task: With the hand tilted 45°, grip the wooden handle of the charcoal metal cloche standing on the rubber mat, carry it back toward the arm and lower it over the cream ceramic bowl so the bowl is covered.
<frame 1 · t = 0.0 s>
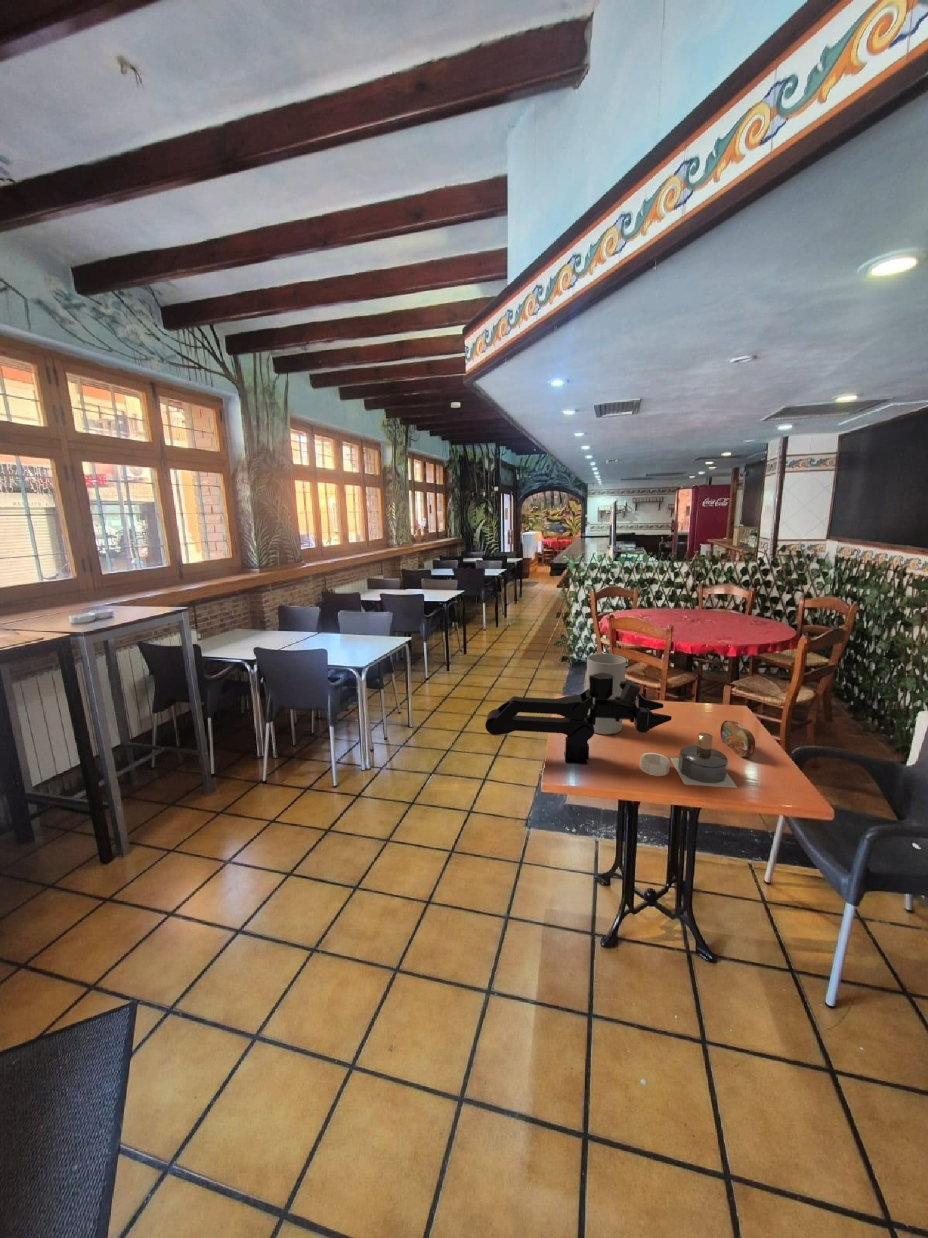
hand: (667, 711, 142), 17 cm above the table, tool horizontal, fingers open, 9 cm apart
bowl: (654, 770, 142), on the table
cloche: (701, 772, 140), resting on mat
tin: (736, 751, 153), on the table
mat: (701, 773, 140), on the table
cylinder vase: (602, 728, 171), on the table
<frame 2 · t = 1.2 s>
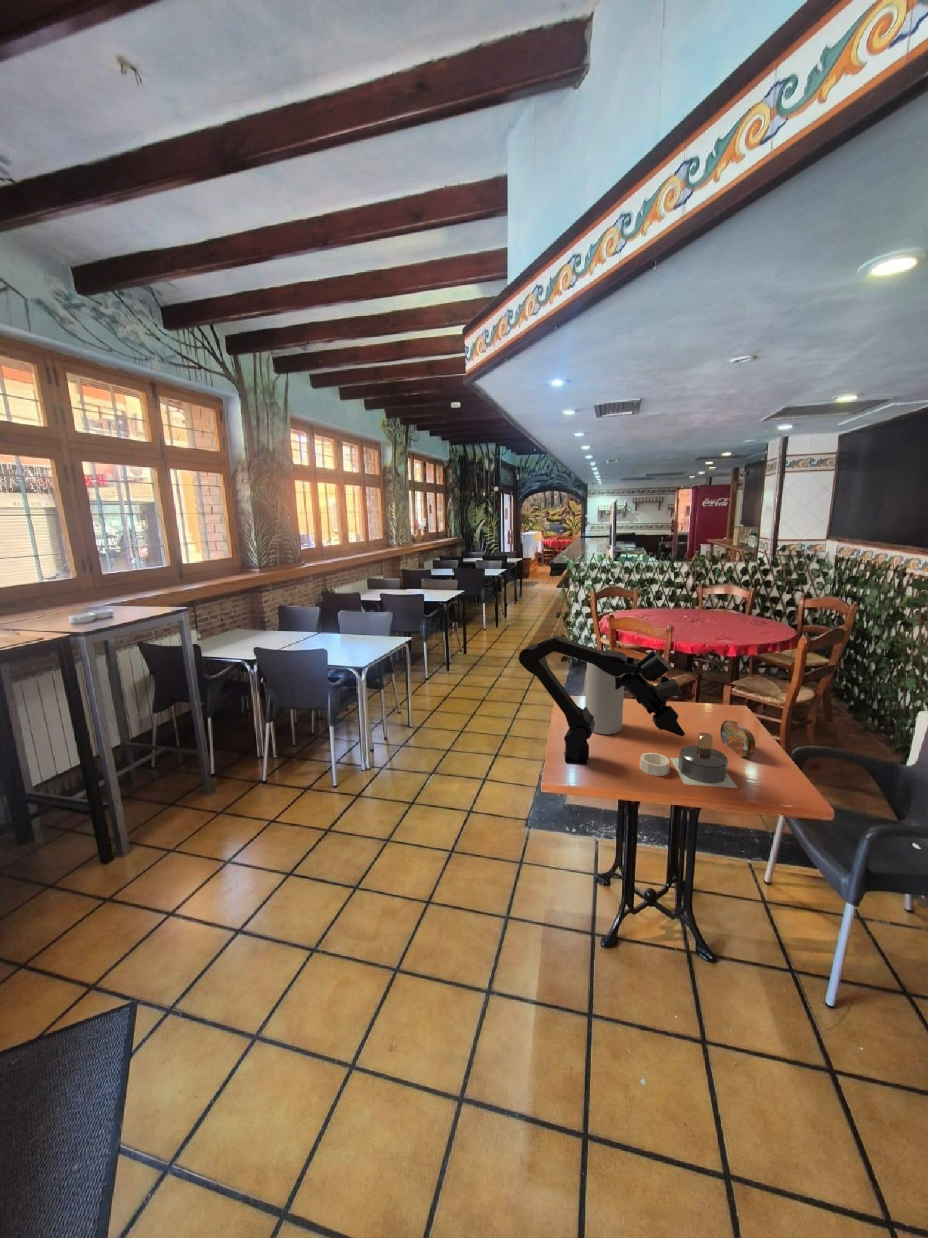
hand: (679, 728, 138), 13 cm above the table, tool tilted 45°, fingers open, 9 cm apart
nothing on the table moved.
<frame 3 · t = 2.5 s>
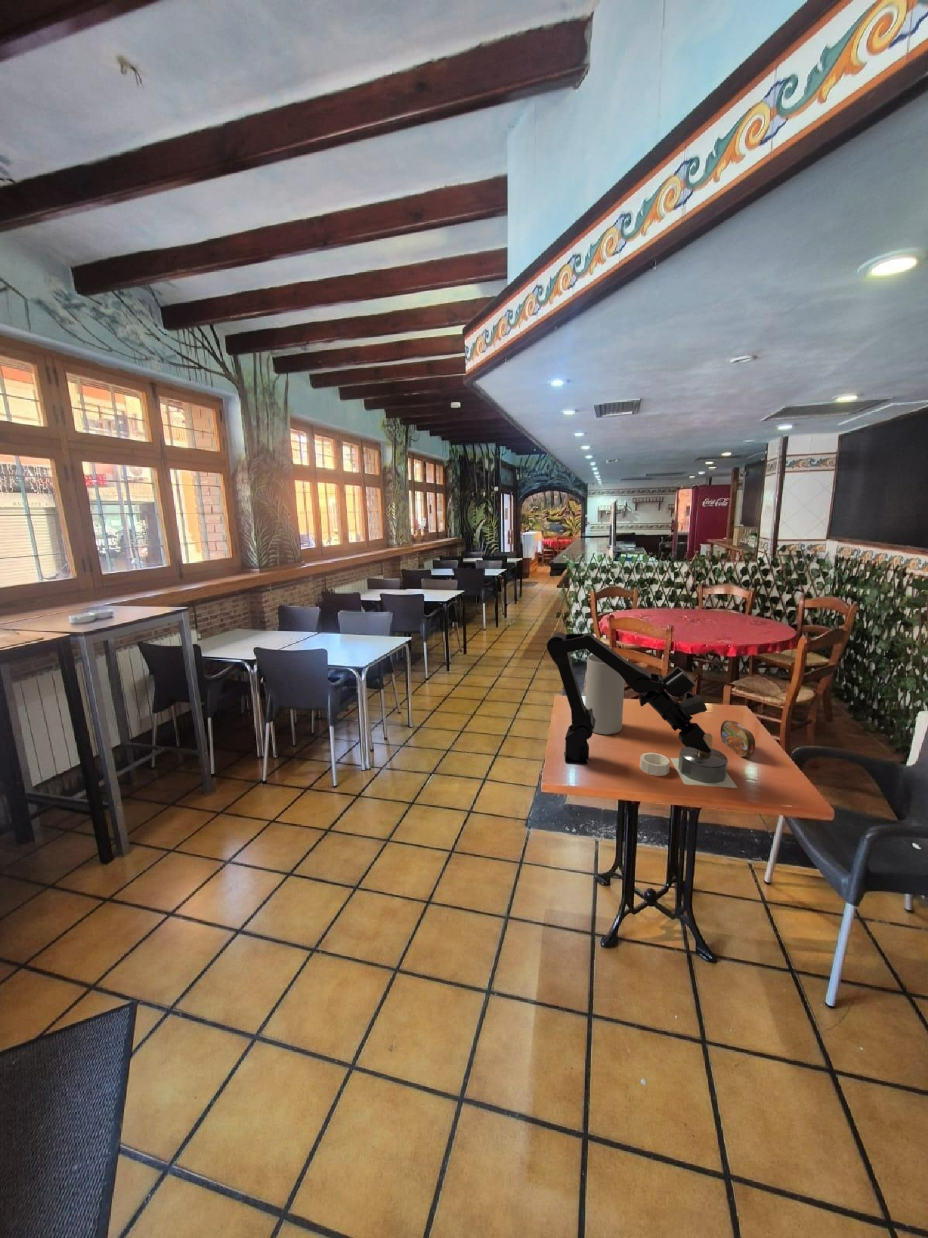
hand: (704, 744, 138), 9 cm above the table, tool tilted 45°, fingers open, 9 cm apart
nothing on the table moved.
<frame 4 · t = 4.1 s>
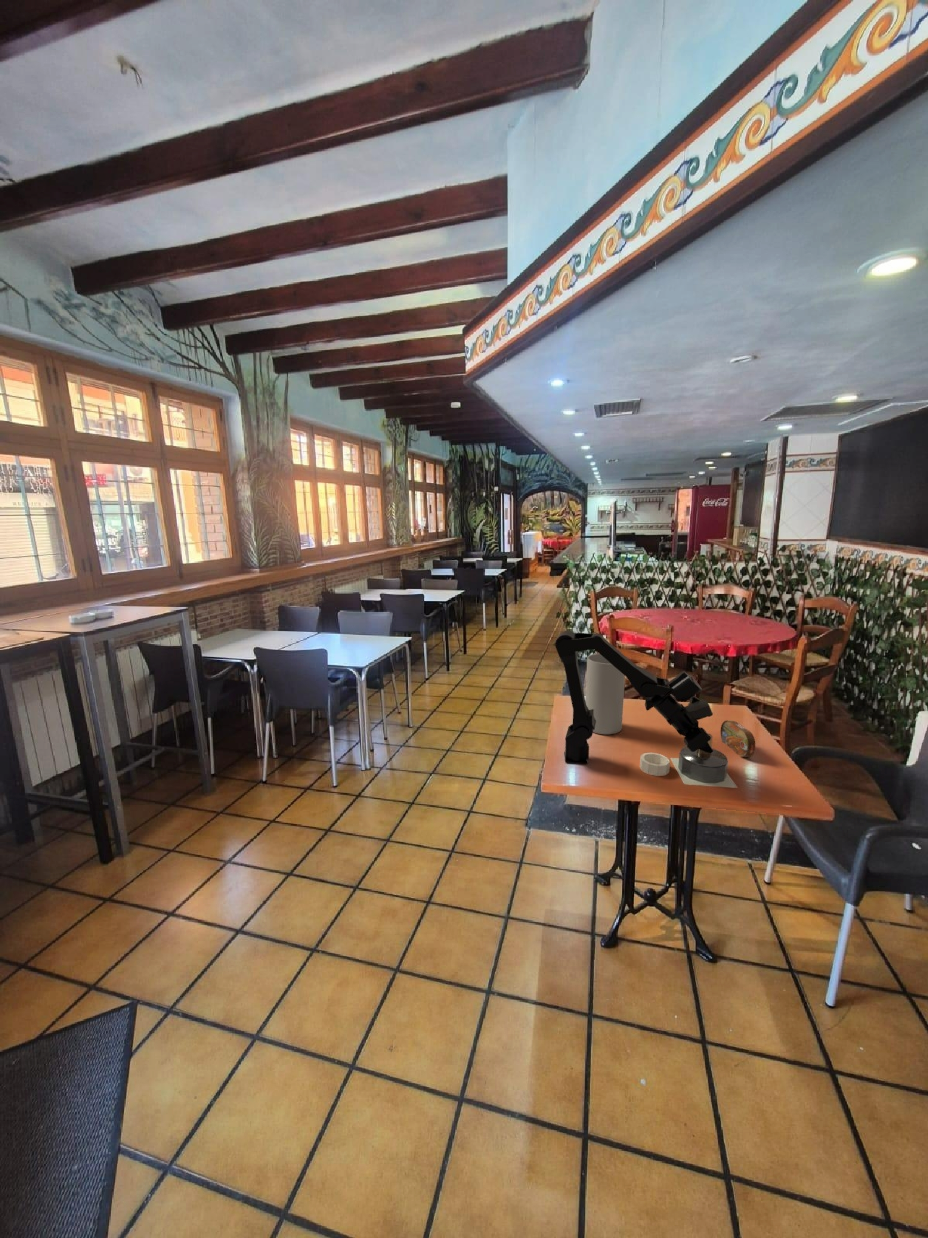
hand: (709, 749, 138), 8 cm above the table, tool tilted 45°, fingers closed on cloche, 4 cm apart
cloche: (701, 772, 140), resting on mat, touching gripper
everything else where it was.
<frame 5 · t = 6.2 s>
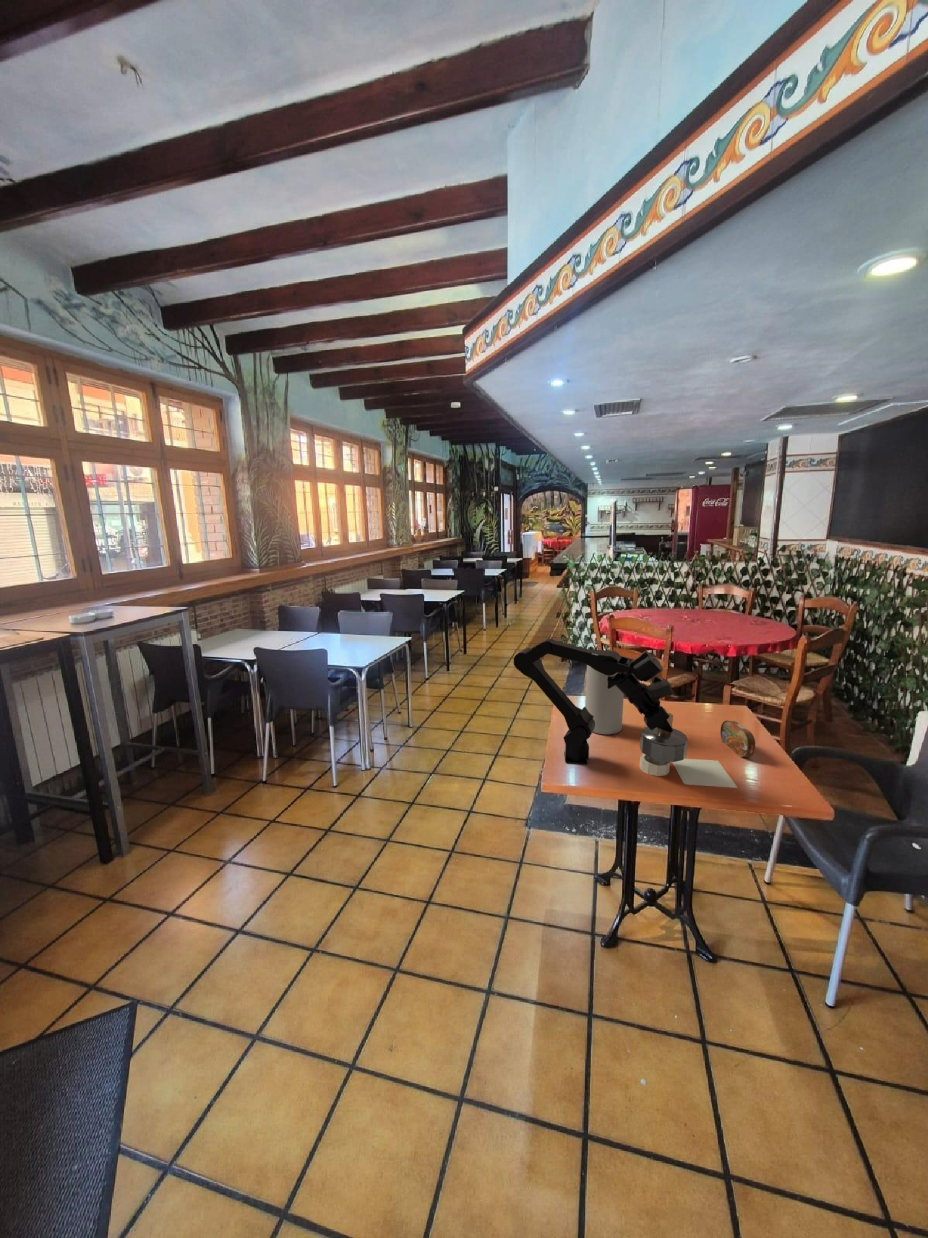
hand: (670, 728, 139), 13 cm above the table, tool tilted 45°, fingers closed on cloche, 4 cm apart
cloche: (662, 751, 141), point 6 cm above the table, touching gripper
everything else where it was.
when the fingers open (9 cm above the table, at t = 8.3 s): cloche drops 1 cm, on the table.
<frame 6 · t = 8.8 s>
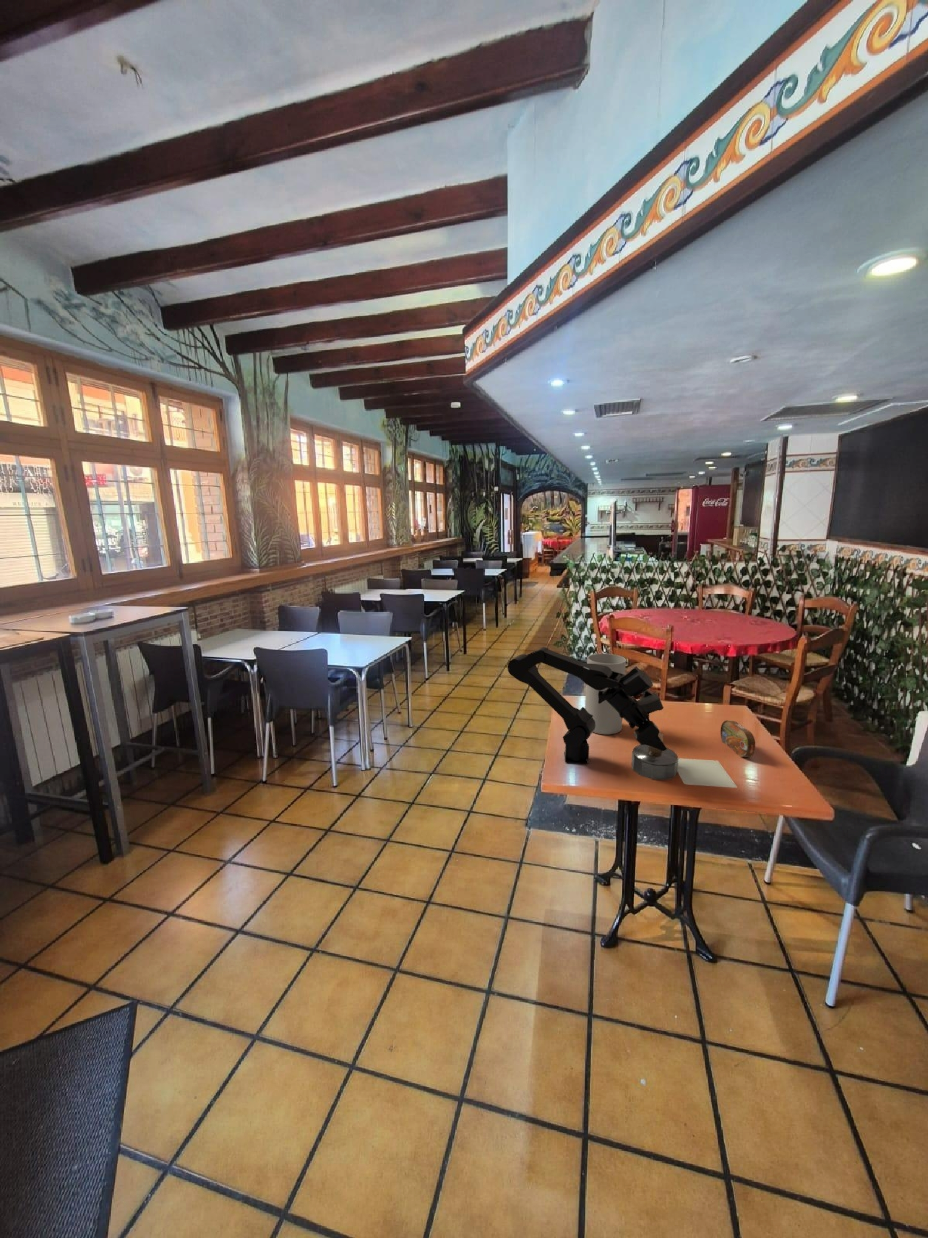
hand: (661, 742, 140), 9 cm above the table, tool tilted 45°, fingers open, 9 cm apart
cloche: (653, 770, 142), on the table
everything else where it was.
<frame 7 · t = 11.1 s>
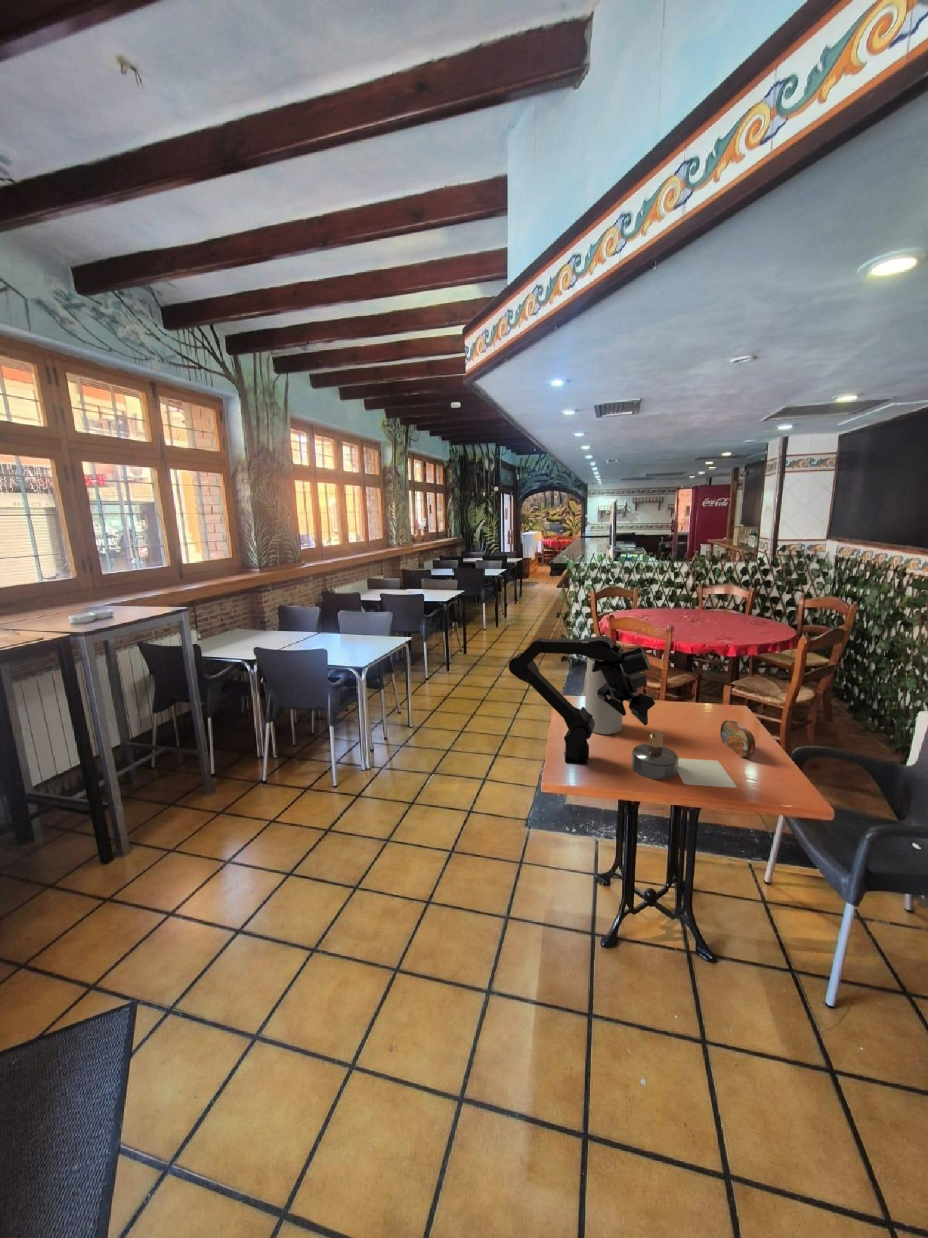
hand: (635, 719, 145), 13 cm above the table, tool tilted 30°, fingers open, 9 cm apart
nothing on the table moved.
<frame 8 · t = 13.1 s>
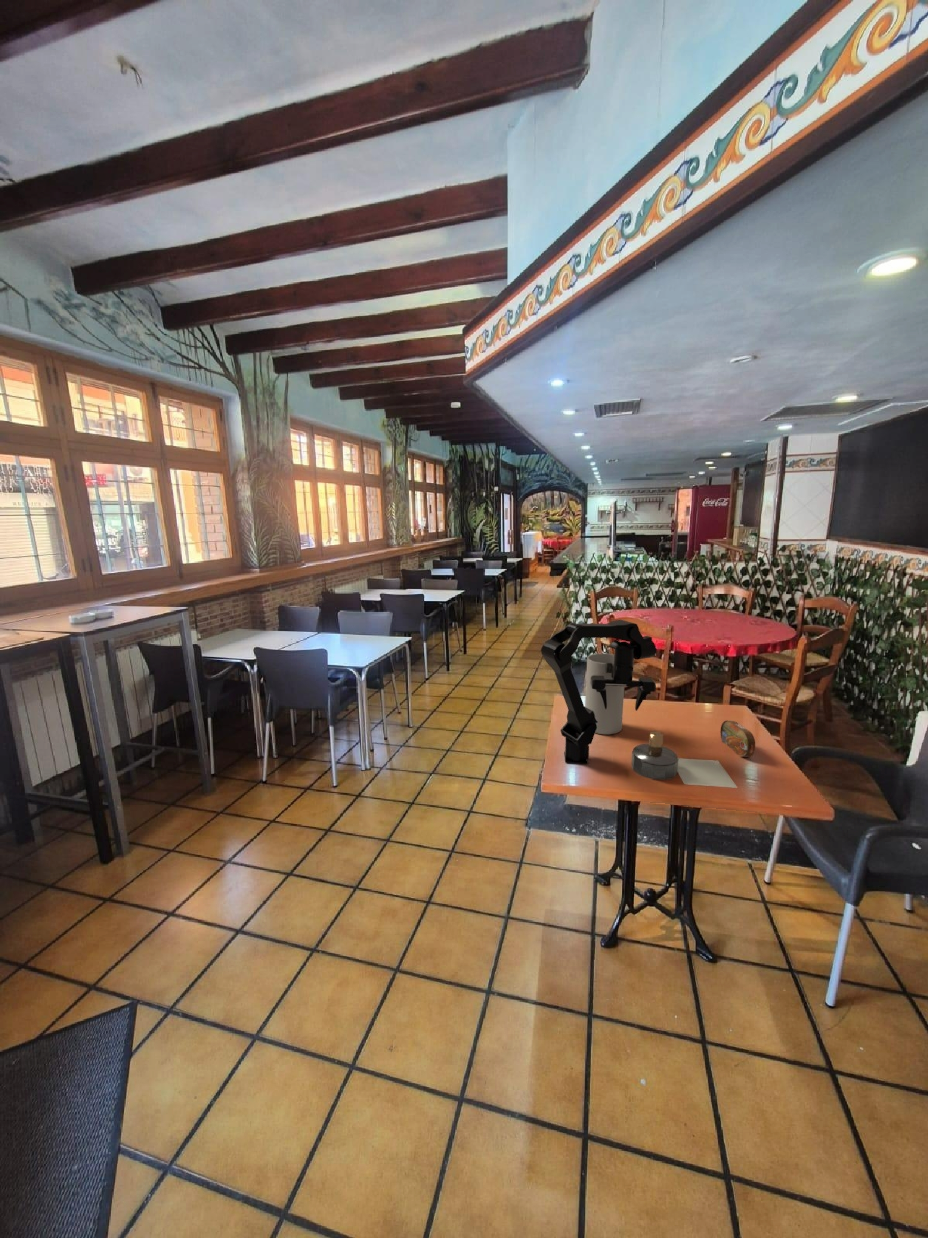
hand: (620, 709, 153), 13 cm above the table, tool pointing down, fingers open, 9 cm apart
nothing on the table moved.
at the end: cloche 0.1 cm from the bowl (horizontally); cloche on the table; cloche tilted 0° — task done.
